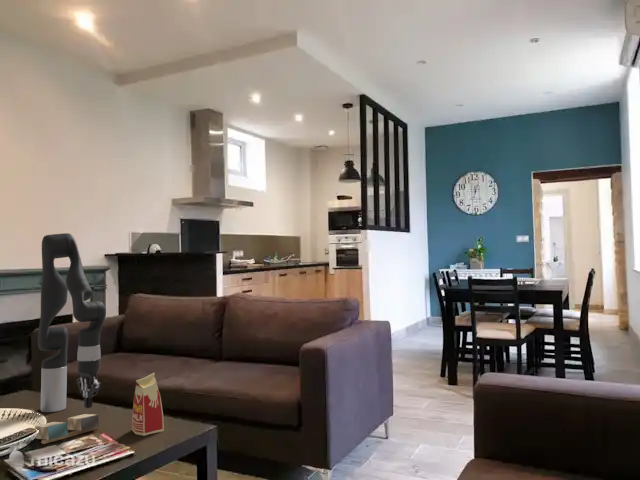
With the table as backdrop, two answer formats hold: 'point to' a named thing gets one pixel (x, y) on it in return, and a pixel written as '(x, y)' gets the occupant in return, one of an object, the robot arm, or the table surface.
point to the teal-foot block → (52, 430)
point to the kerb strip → (69, 435)
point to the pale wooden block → (83, 422)
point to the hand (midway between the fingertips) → (88, 407)
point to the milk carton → (147, 407)
